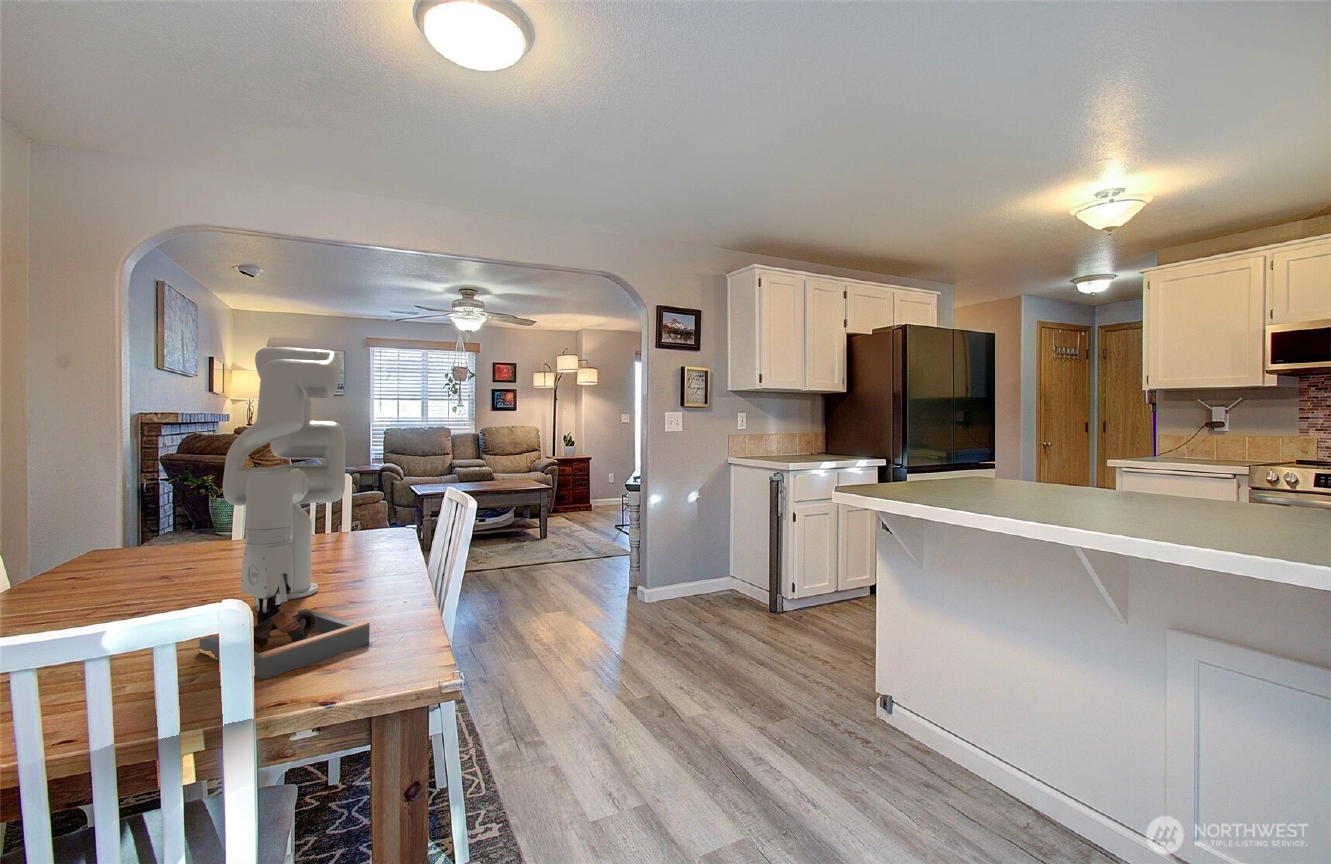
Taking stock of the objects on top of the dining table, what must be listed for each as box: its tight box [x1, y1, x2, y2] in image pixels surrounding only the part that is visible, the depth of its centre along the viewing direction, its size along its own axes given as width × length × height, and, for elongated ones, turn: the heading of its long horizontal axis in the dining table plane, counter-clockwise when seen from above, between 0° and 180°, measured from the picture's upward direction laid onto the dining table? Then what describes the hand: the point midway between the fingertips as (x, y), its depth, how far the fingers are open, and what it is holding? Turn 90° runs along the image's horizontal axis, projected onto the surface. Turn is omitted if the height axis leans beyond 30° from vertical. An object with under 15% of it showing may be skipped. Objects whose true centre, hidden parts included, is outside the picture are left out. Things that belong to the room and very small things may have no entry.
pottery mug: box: [253, 610, 315, 649], centre depth 110 cm, size 12×10×8 cm
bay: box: [198, 608, 371, 680], centre depth 111 cm, size 22×19×4 cm
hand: (268, 630), depth 114 cm, fingers closed
